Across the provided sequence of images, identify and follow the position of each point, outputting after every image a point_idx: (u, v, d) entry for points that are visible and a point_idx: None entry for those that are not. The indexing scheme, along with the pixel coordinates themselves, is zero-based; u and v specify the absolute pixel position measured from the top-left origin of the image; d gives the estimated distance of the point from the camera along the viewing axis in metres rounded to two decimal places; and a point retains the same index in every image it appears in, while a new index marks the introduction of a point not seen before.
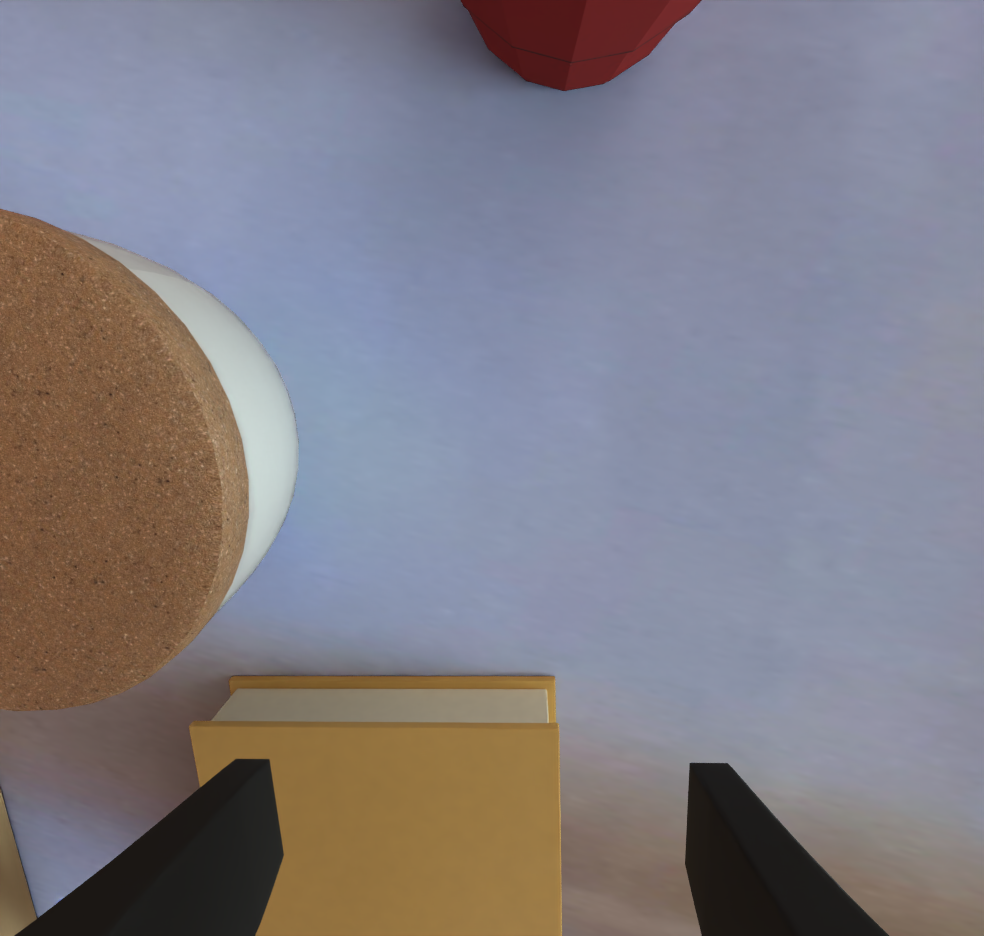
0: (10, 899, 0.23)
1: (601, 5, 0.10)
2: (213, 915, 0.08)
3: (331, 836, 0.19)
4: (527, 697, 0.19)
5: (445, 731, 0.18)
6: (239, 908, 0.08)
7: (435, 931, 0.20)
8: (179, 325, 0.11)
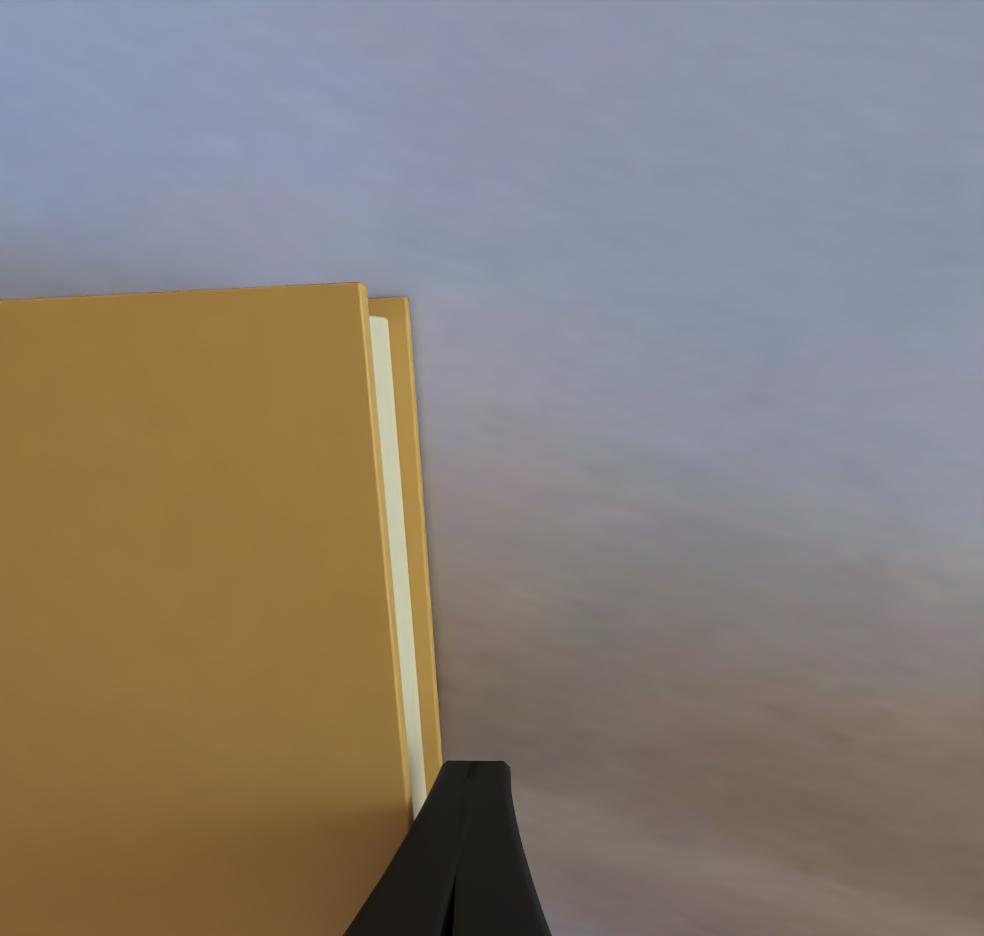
0: None
1: None
2: None
3: None
4: None
5: (72, 309, 0.07)
6: None
7: (131, 852, 0.09)
8: None
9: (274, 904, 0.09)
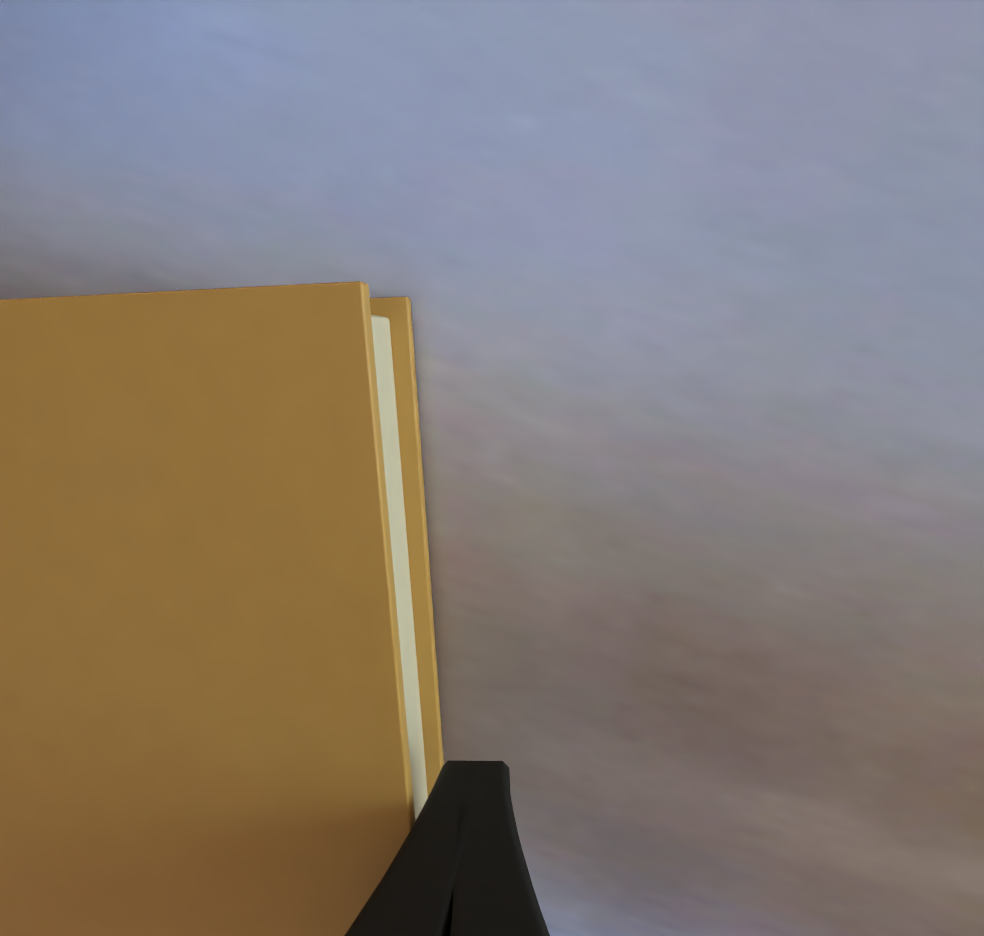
0: None
1: None
2: None
3: None
4: None
5: (74, 308, 0.07)
6: None
7: (132, 851, 0.09)
8: None
9: (275, 904, 0.09)
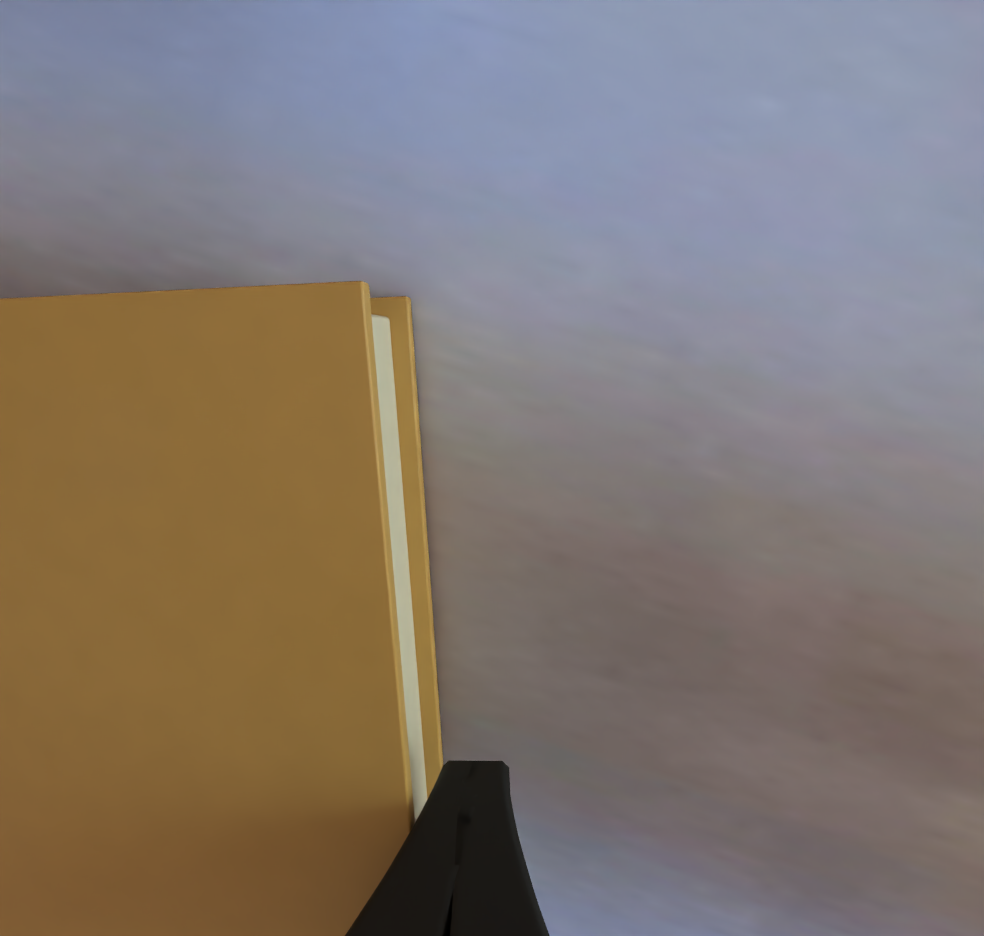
0: None
1: None
2: None
3: None
4: None
5: (74, 307, 0.07)
6: None
7: (132, 851, 0.09)
8: None
9: (275, 903, 0.09)
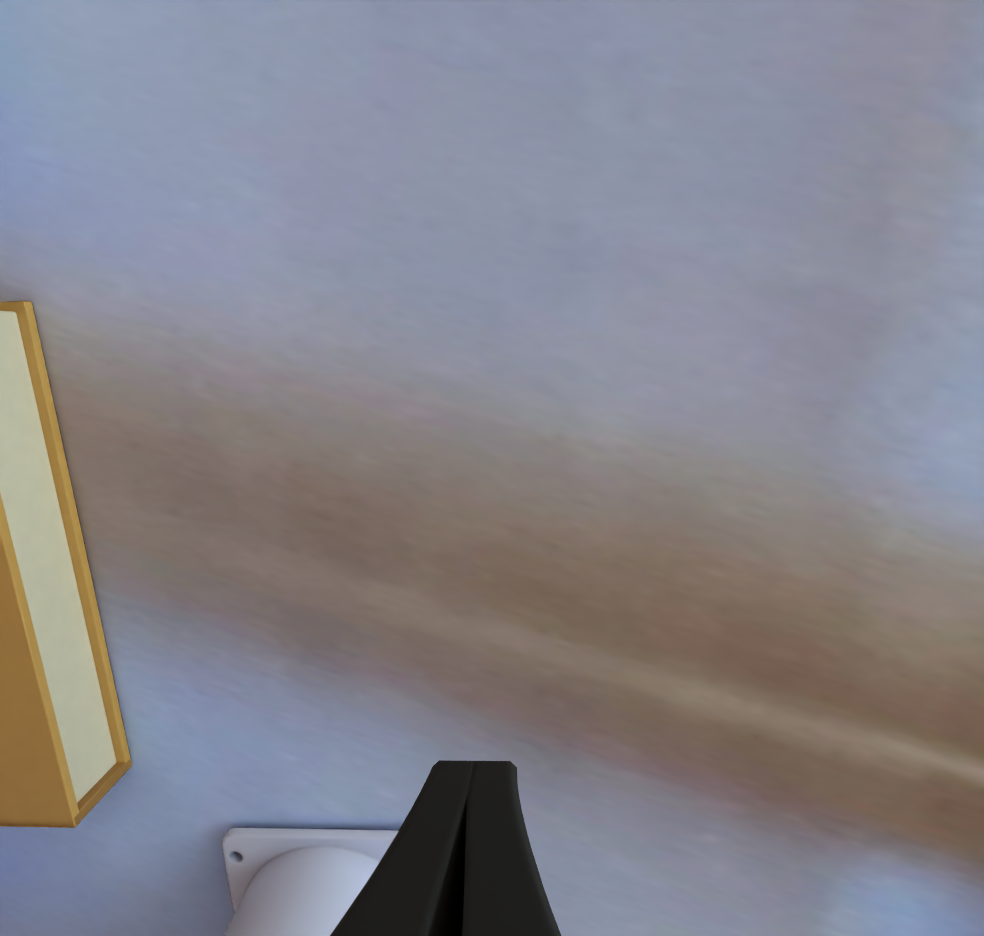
0: None
1: None
2: (459, 922, 0.08)
3: None
4: None
5: None
6: None
7: None
8: None
9: None
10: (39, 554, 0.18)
